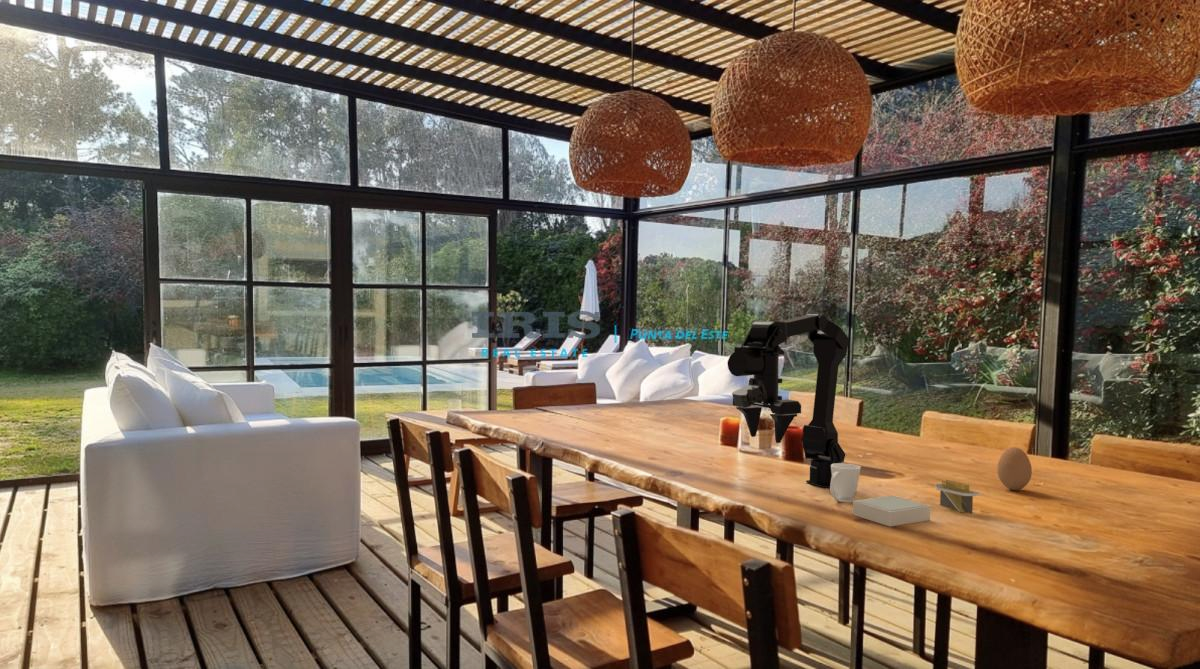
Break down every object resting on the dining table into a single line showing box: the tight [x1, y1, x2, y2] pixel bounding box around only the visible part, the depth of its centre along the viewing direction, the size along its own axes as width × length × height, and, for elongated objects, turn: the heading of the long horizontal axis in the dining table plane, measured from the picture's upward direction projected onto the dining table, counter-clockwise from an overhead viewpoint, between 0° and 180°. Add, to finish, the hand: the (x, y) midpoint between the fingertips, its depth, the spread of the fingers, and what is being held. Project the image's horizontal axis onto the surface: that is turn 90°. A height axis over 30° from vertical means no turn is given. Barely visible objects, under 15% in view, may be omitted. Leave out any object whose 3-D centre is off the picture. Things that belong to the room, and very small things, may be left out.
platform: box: [935, 479, 980, 514], centre depth 166 cm, size 12×18×7 cm, turn 29°
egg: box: [996, 446, 1033, 491], centre depth 187 cm, size 8×8×11 cm
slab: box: [852, 495, 931, 527], centre depth 159 cm, size 12×10×3 cm
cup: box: [829, 462, 862, 503], centre depth 172 cm, size 7×10×8 cm
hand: (765, 439), depth 175 cm, fingers open, 9 cm apart
